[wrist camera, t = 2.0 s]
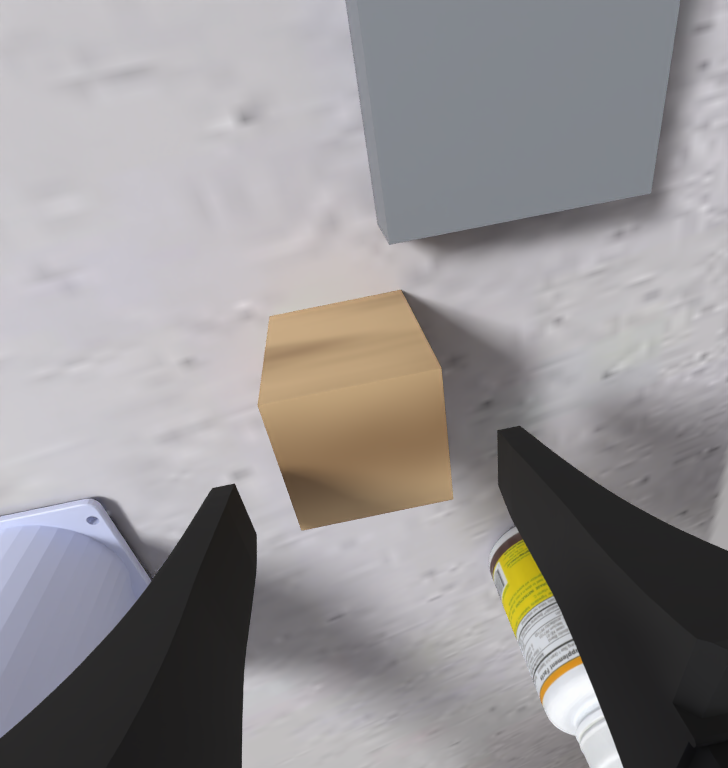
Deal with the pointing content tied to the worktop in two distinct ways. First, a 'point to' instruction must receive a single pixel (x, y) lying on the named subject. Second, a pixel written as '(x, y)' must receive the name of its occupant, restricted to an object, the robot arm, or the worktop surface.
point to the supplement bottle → (550, 650)
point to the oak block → (355, 410)
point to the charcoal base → (507, 106)
